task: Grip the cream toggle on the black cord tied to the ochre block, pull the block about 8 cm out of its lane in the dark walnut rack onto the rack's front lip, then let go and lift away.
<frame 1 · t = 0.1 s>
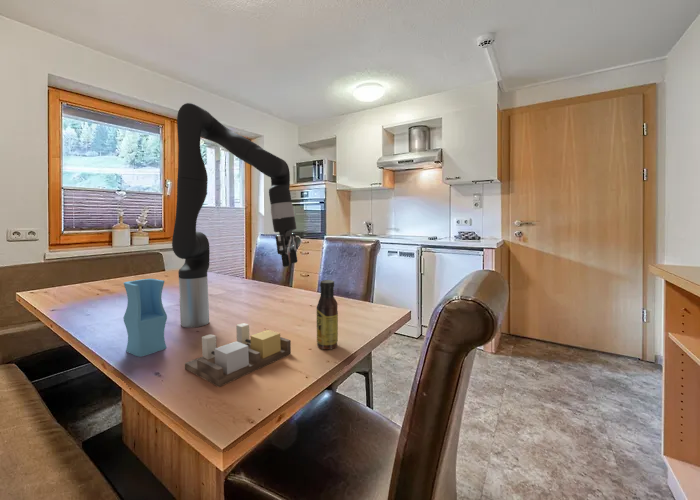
hand: (290, 264, 109), 22 cm above the table, tool pointing down, fingers open, 8 cm apart
ochre block: (255, 338, 90), point 4 cm above the table, slide at 0.0 cm
sauce bottle: (327, 347, 95), on the table
white block with handle: (221, 351, 81), point 4 cm above the table
lane rack: (240, 361, 86), on the table
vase: (147, 350, 93), on the table
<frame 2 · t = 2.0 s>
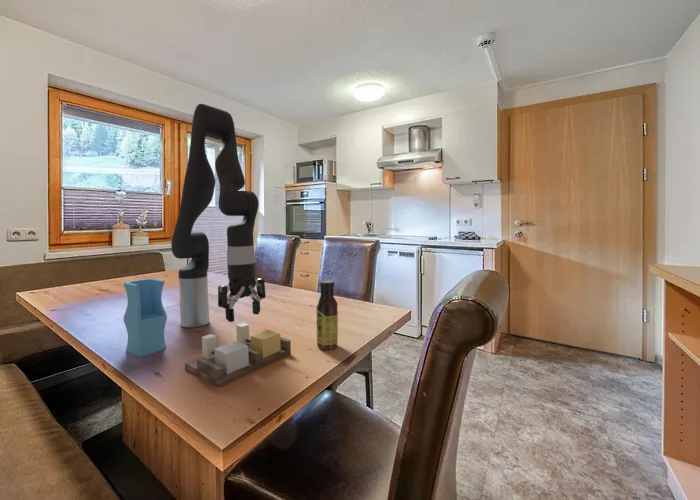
hand: (243, 317, 92), 9 cm above the table, tool pointing down, fingers open, 8 cm apart
nothing on the table moved.
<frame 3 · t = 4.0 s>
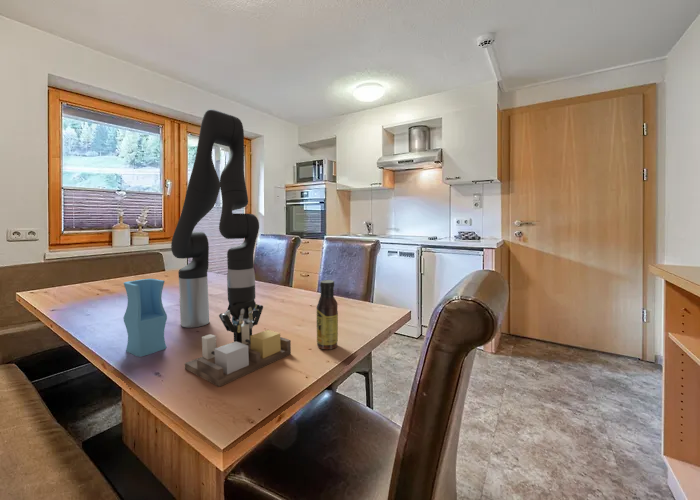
hand: (243, 342, 93), 2 cm above the table, tool pointing down, fingers closed on ochre block, 2 cm apart
ochre block: (255, 338, 90), point 4 cm above the table, slide at 0.0 cm, touching gripper
everything else where it was.
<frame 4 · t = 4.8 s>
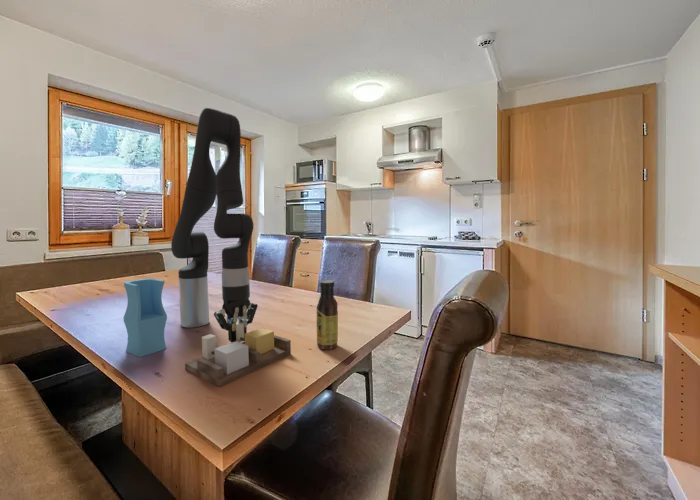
hand: (237, 340, 95), 2 cm above the table, tool pointing down, fingers closed on ochre block, 2 cm apart
ochre block: (249, 336, 91), point 4 cm above the table, slide at 2.6 cm, touching gripper
everything else where it was.
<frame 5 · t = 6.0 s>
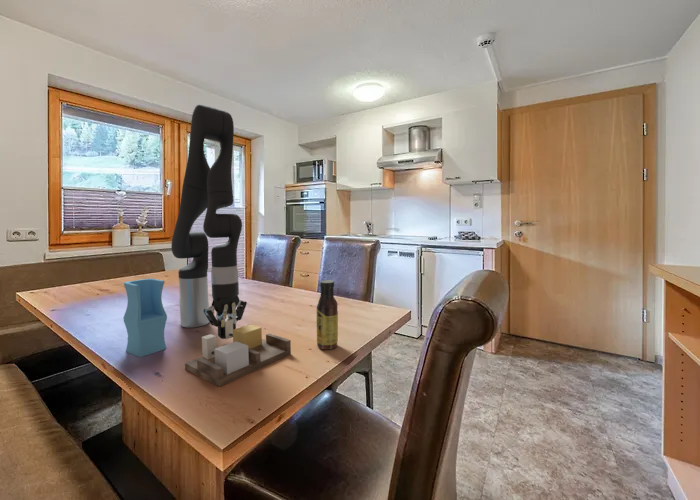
hand: (227, 336, 98), 2 cm above the table, tool pointing down, fingers closed on ochre block, 2 cm apart
ochre block: (238, 332, 94), point 4 cm above the table, slide at 7.9 cm, touching gripper
everything else where it was.
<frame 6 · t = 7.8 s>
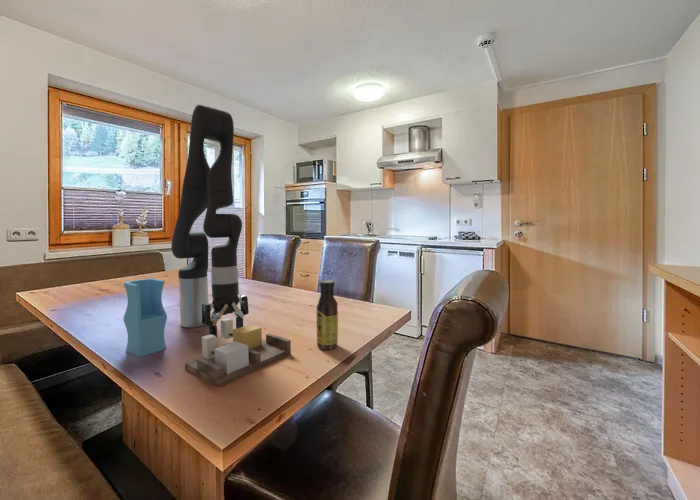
hand: (227, 333, 98), 3 cm above the table, tool pointing down, fingers open, 8 cm apart
ochre block: (238, 332, 94), point 4 cm above the table, slide at 8.0 cm
everything else where it was.
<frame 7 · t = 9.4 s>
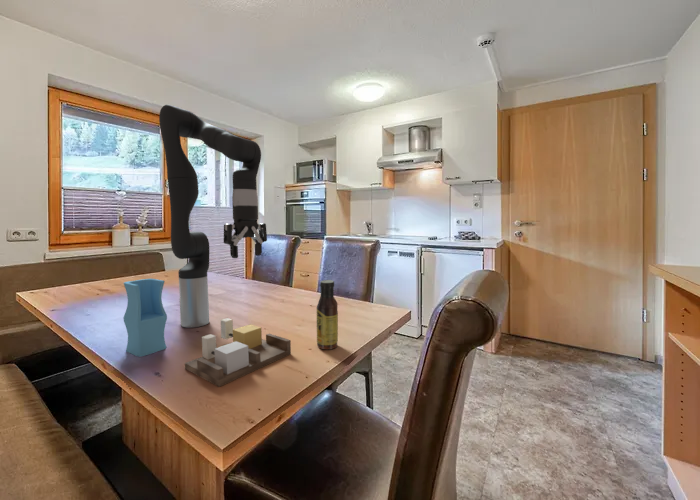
hand: (246, 256, 101), 26 cm above the table, tool pointing down, fingers open, 8 cm apart
nothing on the table moved.
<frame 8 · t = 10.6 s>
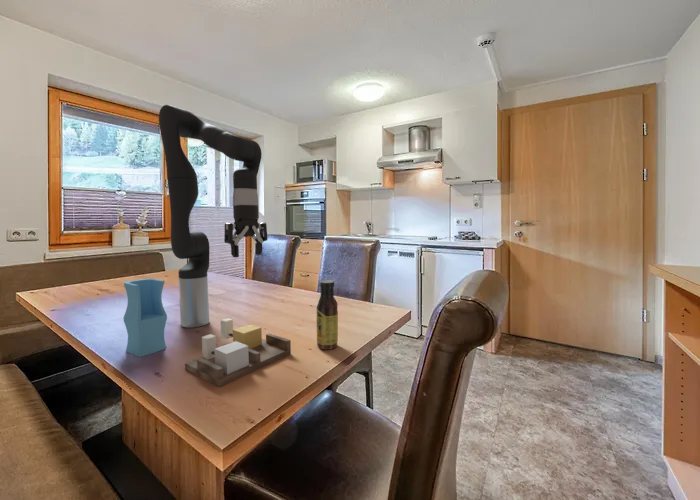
hand: (247, 255, 102), 26 cm above the table, tool pointing down, fingers open, 8 cm apart
nothing on the table moved.
at the end: ochre block slide at 8.0 cm; the gripper is holding nothing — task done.
